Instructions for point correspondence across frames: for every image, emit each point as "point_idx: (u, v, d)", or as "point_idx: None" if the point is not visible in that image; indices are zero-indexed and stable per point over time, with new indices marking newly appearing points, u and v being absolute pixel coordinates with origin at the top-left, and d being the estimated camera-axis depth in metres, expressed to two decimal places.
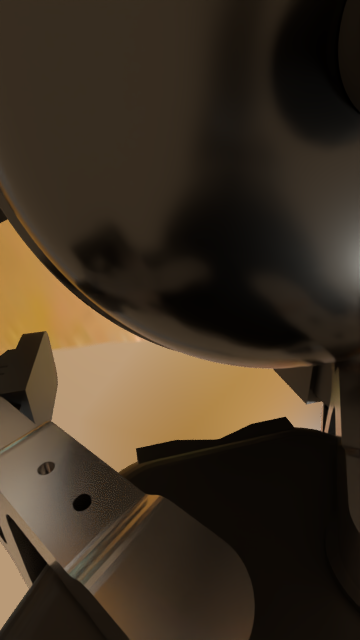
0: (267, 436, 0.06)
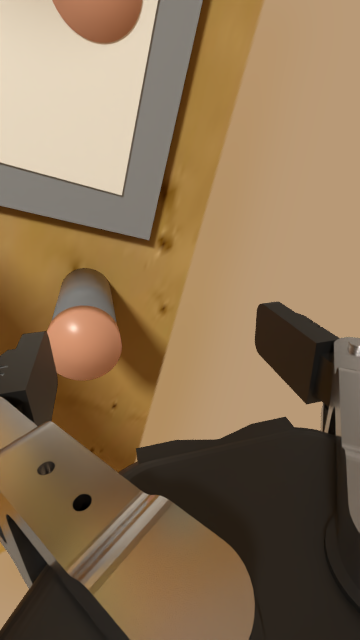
0: (267, 436, 0.06)
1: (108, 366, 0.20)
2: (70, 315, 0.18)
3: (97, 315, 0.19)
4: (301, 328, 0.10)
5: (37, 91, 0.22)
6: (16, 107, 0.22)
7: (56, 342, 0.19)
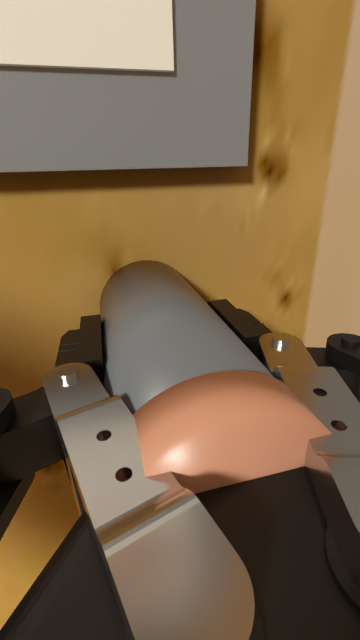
0: None
1: None
2: (175, 448, 0.05)
3: (272, 416, 0.05)
4: (236, 324, 0.10)
5: None
6: None
7: None
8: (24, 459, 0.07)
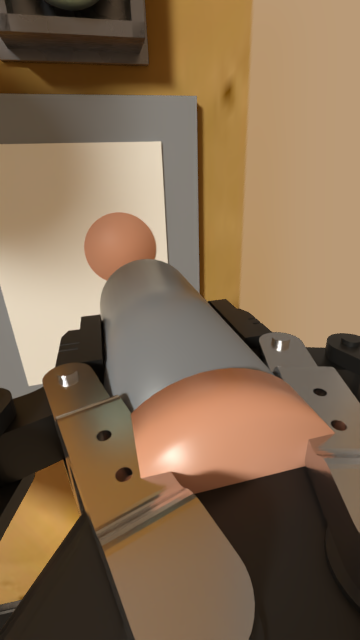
0: None
1: None
2: (175, 446, 0.05)
3: (273, 413, 0.05)
4: (236, 324, 0.10)
5: None
6: None
7: None
8: (24, 459, 0.07)
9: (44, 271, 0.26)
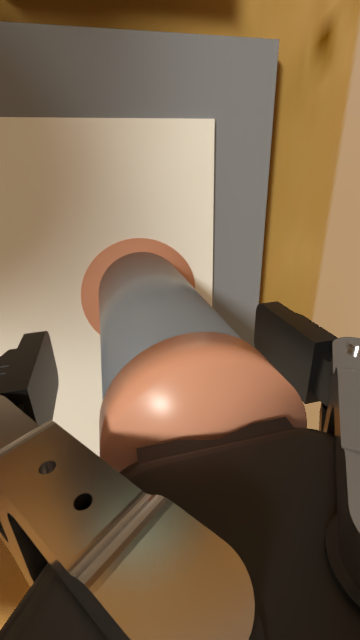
0: (267, 436, 0.06)
1: None
2: (155, 384, 0.06)
3: (233, 360, 0.06)
4: (299, 328, 0.10)
5: None
6: (86, 431, 0.19)
7: None
8: None
9: (14, 333, 0.16)
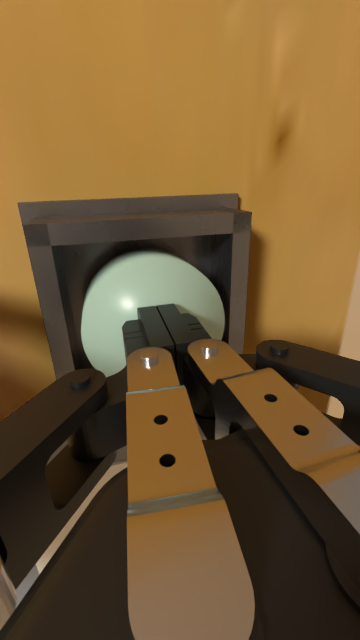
0: None
1: None
2: None
3: None
4: (173, 329, 0.10)
5: None
6: None
7: None
8: (115, 434, 0.08)
9: None
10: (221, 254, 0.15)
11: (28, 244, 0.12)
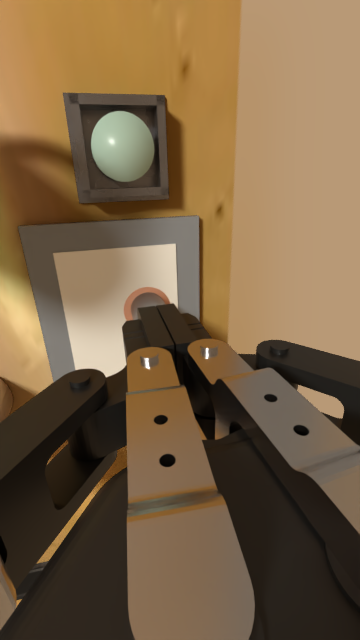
0: None
1: None
2: None
3: None
4: (173, 329, 0.10)
5: None
6: None
7: None
8: (115, 435, 0.08)
9: (97, 324, 0.40)
10: (155, 121, 0.32)
11: (70, 102, 0.29)
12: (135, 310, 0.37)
